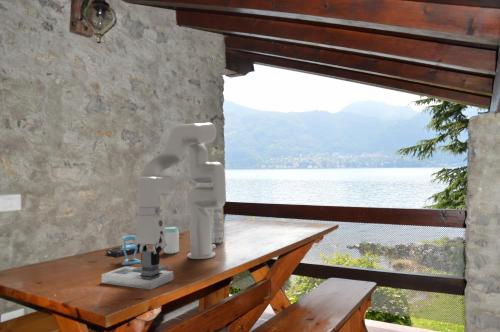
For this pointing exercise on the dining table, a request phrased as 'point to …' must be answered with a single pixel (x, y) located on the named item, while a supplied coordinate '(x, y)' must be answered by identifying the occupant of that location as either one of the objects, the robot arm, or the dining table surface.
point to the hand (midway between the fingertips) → (150, 263)
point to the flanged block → (149, 265)
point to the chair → (126, 238)
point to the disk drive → (120, 251)
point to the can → (171, 240)
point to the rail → (136, 278)
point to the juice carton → (217, 224)
